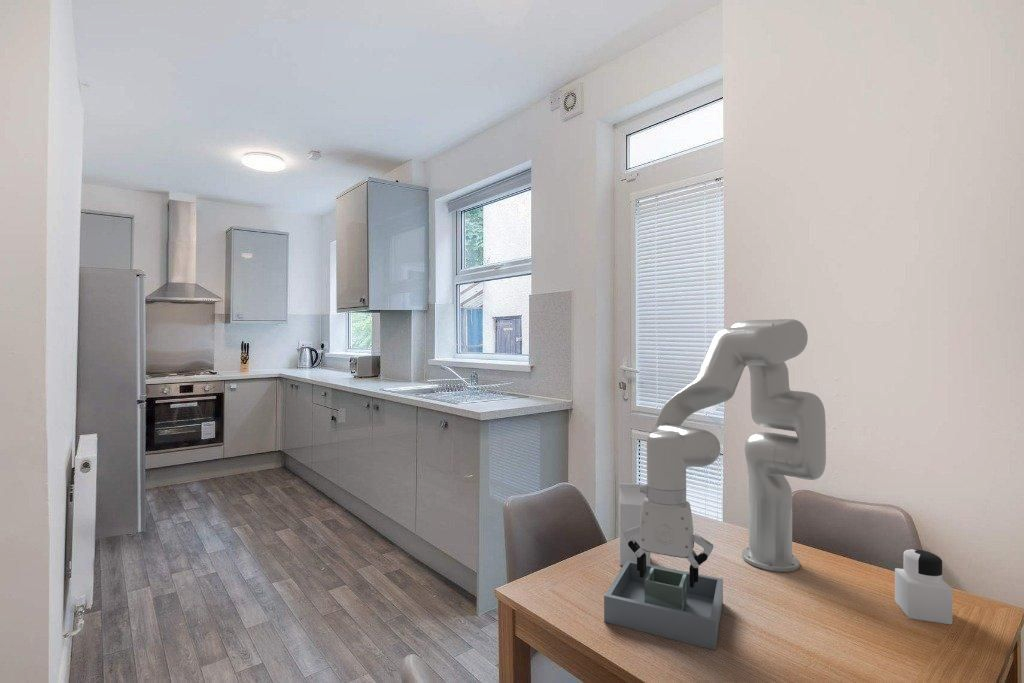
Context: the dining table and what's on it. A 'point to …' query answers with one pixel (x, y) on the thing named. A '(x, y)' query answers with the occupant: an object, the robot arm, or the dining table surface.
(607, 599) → the charcoal crate
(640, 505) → the milk carton
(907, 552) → the medicine bottle
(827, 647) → the dining table surface
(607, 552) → the dining table surface
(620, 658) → the dining table surface
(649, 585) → the teal crate
